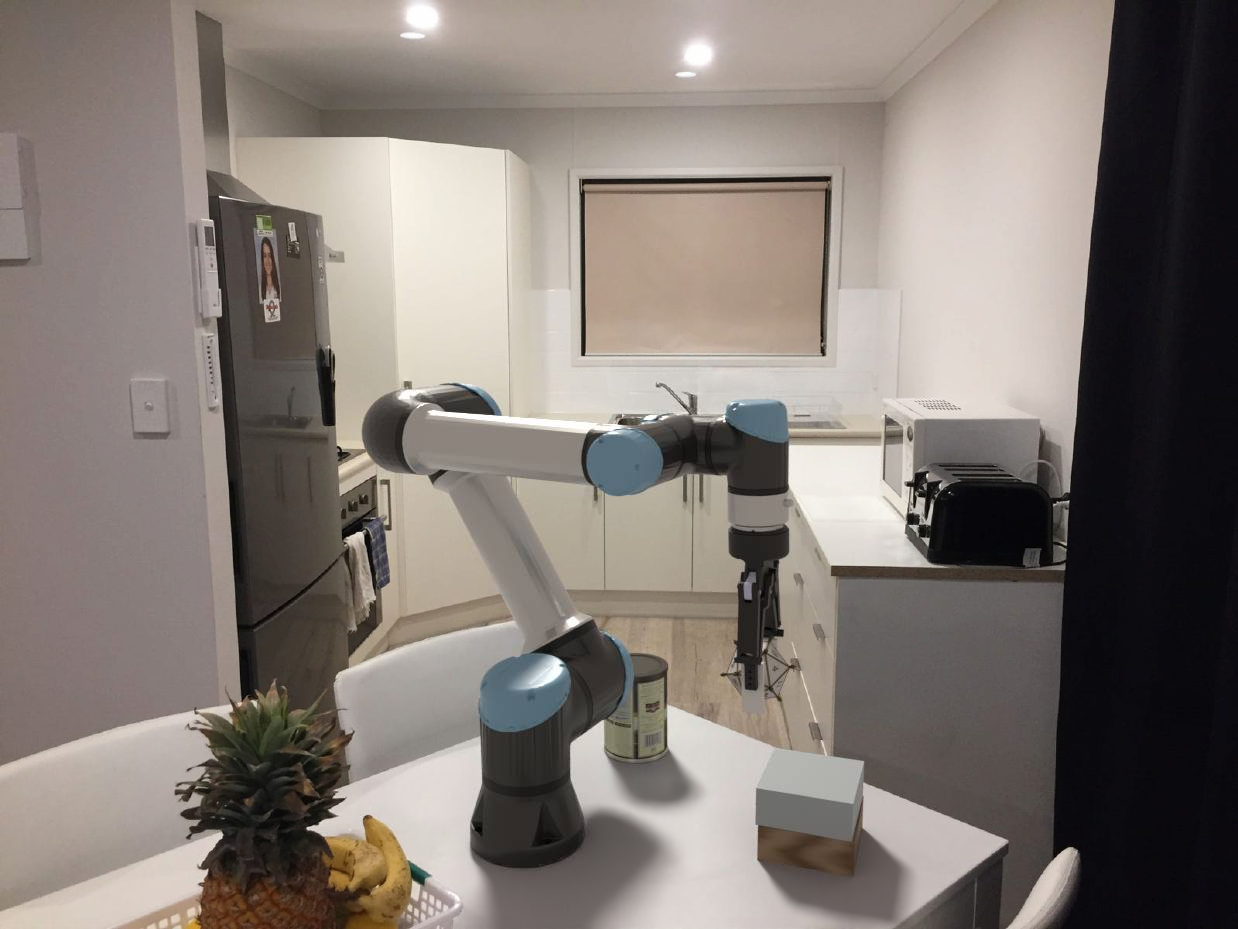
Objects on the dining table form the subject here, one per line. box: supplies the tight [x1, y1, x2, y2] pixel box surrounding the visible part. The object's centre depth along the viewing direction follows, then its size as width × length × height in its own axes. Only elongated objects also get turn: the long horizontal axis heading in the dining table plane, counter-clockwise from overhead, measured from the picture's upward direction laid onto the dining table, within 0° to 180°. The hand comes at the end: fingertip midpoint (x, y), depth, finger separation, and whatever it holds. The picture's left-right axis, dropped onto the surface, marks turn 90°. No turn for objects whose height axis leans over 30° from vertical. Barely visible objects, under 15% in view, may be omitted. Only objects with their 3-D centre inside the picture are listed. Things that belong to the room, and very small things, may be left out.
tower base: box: [756, 795, 864, 878], centre depth 130 cm, size 12×12×5 cm
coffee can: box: [603, 652, 669, 764], centre depth 157 cm, size 10×10×14 cm
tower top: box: [754, 747, 865, 842], centre depth 130 cm, size 12×12×5 cm
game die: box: [719, 635, 797, 703], centre depth 127 cm, size 9×8×10 cm
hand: (760, 698), depth 127 cm, fingers closed on game die, 8 cm apart
